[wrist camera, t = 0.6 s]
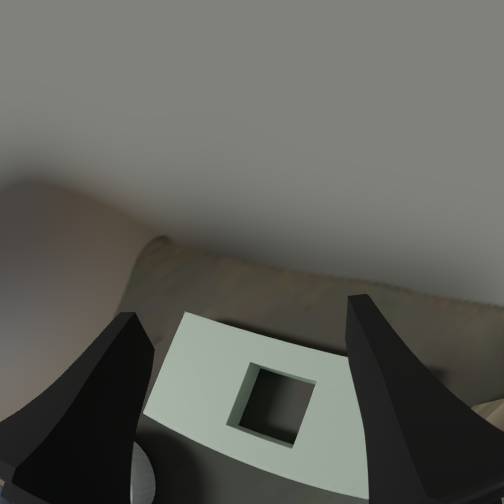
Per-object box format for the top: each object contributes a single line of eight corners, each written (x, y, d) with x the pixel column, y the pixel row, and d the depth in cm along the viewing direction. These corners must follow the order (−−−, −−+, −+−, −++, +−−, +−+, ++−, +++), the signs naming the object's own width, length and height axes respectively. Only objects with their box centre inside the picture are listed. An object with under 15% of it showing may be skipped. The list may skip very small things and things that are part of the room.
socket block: (412, 377, 22) (419, 372, 20) (373, 492, 18) (376, 500, 16) (199, 322, 30) (185, 311, 28) (161, 415, 26) (143, 413, 24)
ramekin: (131, 541, 20) (97, 551, 15) (69, 468, 25) (34, 465, 21) (188, 479, 23) (156, 485, 18) (114, 403, 28) (79, 395, 24)
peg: (492, 440, 17) (532, 441, 11) (455, 470, 17) (486, 482, 11) (473, 405, 19) (509, 396, 13) (436, 434, 19) (463, 436, 13)
